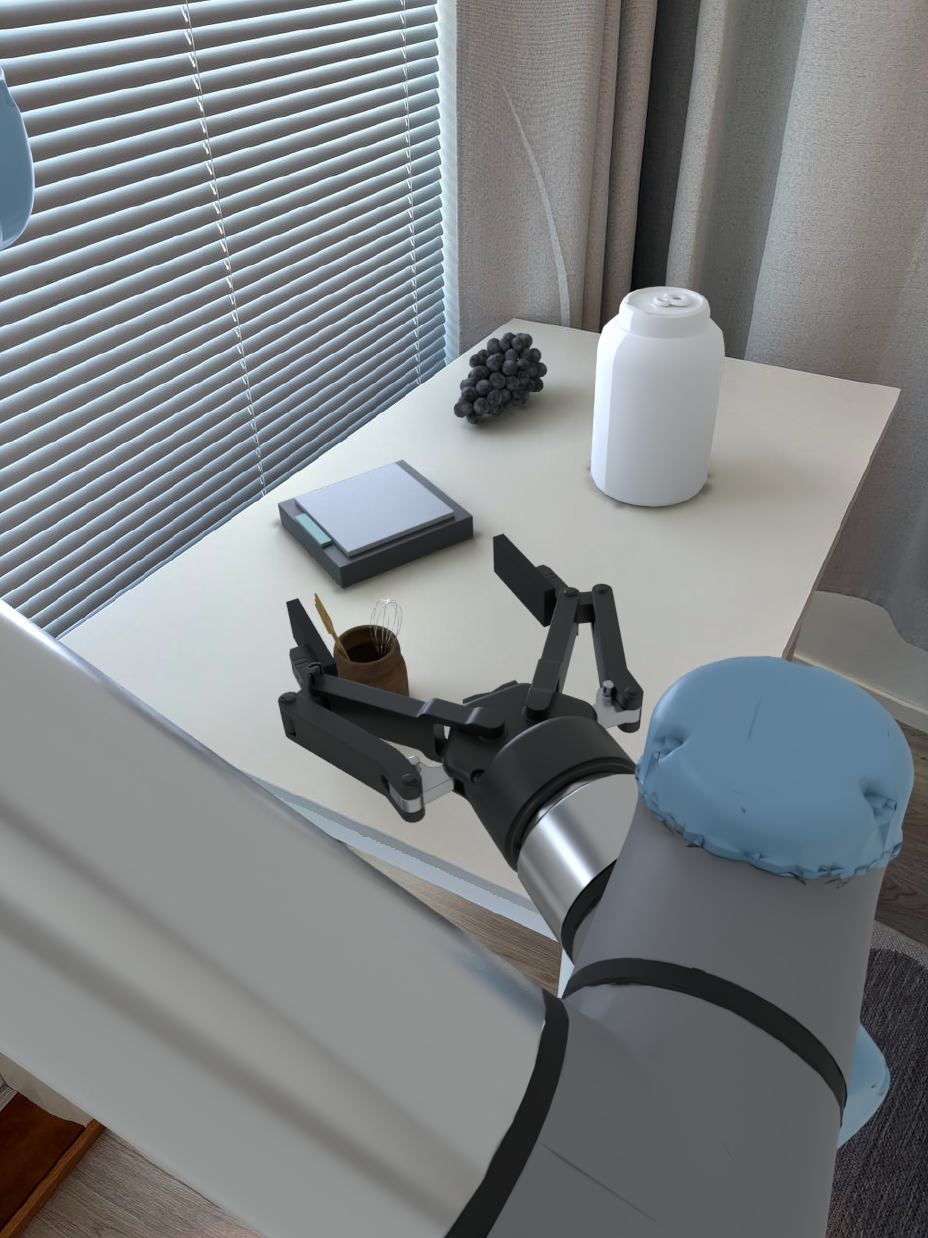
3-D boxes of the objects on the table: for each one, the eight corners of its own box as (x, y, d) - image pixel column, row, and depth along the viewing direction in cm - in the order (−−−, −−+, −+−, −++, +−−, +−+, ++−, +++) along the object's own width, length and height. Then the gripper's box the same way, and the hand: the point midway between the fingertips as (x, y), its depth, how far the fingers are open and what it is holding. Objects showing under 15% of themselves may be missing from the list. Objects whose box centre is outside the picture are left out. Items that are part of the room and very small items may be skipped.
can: (674, 442, 110) (695, 268, 97) (727, 497, 100) (757, 312, 88) (573, 461, 107) (580, 285, 95) (617, 519, 98) (632, 331, 85)
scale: (342, 589, 90) (338, 562, 88) (281, 523, 100) (276, 498, 98) (473, 536, 96) (472, 510, 94) (404, 479, 106) (402, 454, 104)
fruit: (467, 366, 107) (547, 319, 115) (417, 370, 112) (497, 326, 121) (488, 437, 110) (564, 388, 119) (439, 438, 116) (515, 391, 125)
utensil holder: (415, 730, 76) (403, 612, 68) (336, 740, 75) (315, 623, 67) (407, 680, 80) (395, 565, 73) (332, 690, 80) (313, 575, 72)
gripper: (336, 988, 42) (215, 695, 57) (783, 783, 50) (573, 573, 65) (312, 886, 37) (186, 596, 52) (810, 678, 45) (576, 478, 60)
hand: (400, 583), depth 59 cm, fingers open, 13 cm apart
